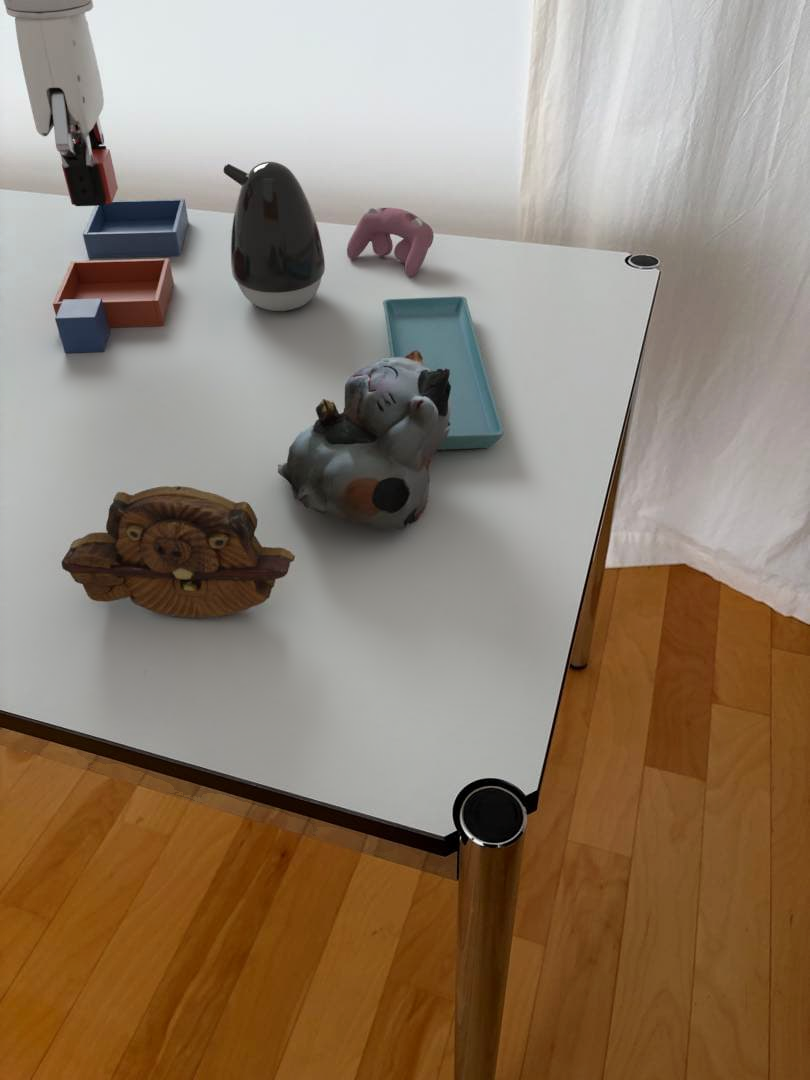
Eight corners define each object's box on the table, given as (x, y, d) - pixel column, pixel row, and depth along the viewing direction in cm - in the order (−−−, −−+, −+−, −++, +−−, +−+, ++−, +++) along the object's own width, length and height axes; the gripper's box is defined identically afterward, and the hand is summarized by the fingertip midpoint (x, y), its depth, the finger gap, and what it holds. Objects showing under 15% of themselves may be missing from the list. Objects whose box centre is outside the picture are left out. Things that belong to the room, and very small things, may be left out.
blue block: (64, 353, 93) (54, 318, 90) (72, 333, 96) (62, 299, 93) (103, 351, 93) (95, 317, 90) (110, 332, 96) (101, 298, 93)
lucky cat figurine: (270, 455, 80) (319, 305, 76) (393, 489, 84) (448, 349, 80) (285, 523, 67) (347, 347, 62) (431, 560, 71) (499, 397, 66)
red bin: (59, 329, 97) (52, 303, 94) (77, 285, 104) (71, 261, 102) (163, 325, 97) (158, 300, 95) (173, 282, 104) (169, 258, 102)
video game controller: (428, 280, 108) (443, 220, 106) (410, 277, 105) (425, 215, 102) (360, 260, 112) (373, 202, 110) (341, 256, 108) (354, 196, 106)
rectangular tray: (382, 315, 99) (382, 295, 97) (464, 312, 100) (465, 292, 98) (401, 461, 80) (401, 438, 78) (503, 456, 81) (505, 434, 79)
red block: (71, 204, 91) (61, 164, 88) (79, 189, 94) (69, 150, 91) (111, 203, 91) (102, 163, 88) (118, 188, 94) (109, 148, 91)
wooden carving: (69, 628, 65) (31, 526, 58) (86, 584, 69) (52, 482, 62) (296, 629, 65) (285, 527, 59) (301, 584, 69) (291, 482, 62)
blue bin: (88, 258, 109) (82, 234, 107) (102, 223, 116) (97, 200, 114) (180, 255, 110) (176, 232, 108) (188, 221, 117) (184, 198, 115)
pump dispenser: (261, 272, 106) (246, 139, 96) (341, 288, 104) (335, 153, 93) (217, 312, 99) (196, 173, 89) (302, 329, 97) (291, 188, 86)
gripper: (25, -29, 86) (73, 166, 98) (-23, 15, 74) (39, 231, 86) (104, -30, 86) (142, 164, 99) (70, 13, 74) (118, 228, 87)
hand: (94, 193), depth 92 cm, fingers closed on red block, 4 cm apart
